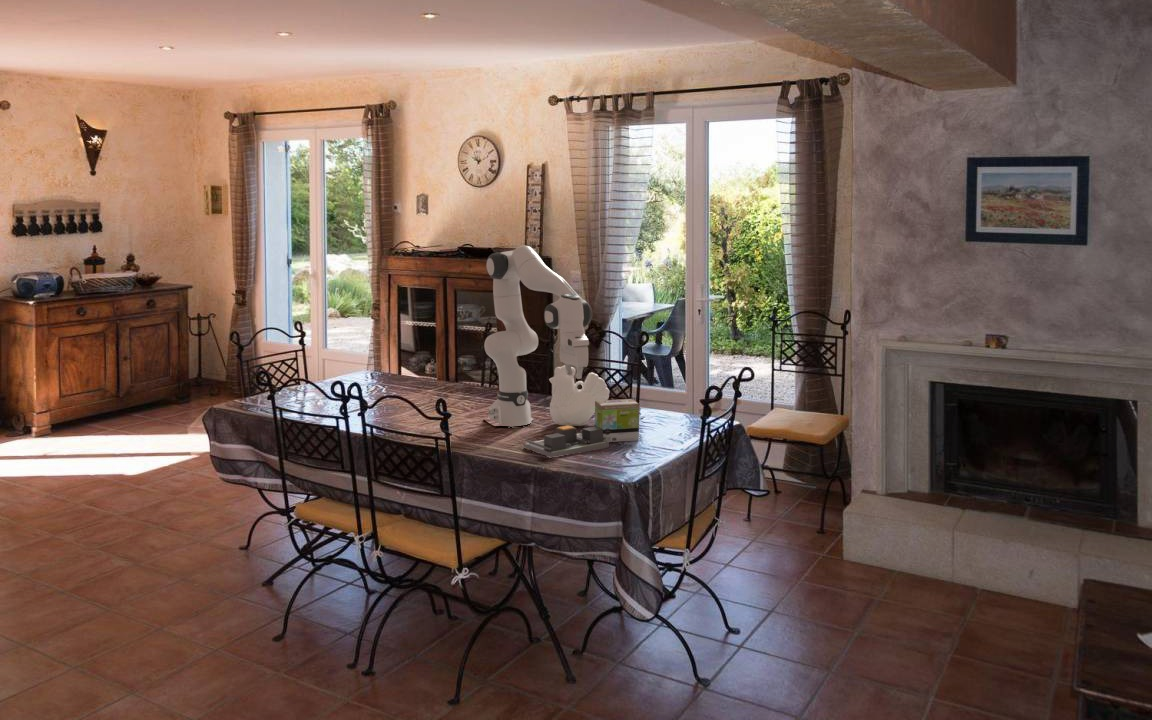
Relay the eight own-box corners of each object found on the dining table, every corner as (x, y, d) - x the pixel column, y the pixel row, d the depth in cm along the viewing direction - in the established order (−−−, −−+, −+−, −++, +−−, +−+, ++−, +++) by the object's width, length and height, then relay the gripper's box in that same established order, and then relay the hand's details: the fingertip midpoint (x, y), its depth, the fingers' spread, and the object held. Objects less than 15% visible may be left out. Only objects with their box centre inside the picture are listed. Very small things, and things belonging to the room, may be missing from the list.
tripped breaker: (549, 441, 371) (549, 426, 370) (568, 438, 376) (568, 423, 375) (563, 446, 364) (563, 431, 363) (582, 442, 369) (582, 427, 368)
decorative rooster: (550, 430, 398) (549, 369, 394) (548, 422, 414) (547, 362, 410) (613, 428, 400) (612, 367, 396) (608, 420, 416) (608, 361, 412)
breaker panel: (523, 448, 370) (523, 430, 369) (580, 438, 385) (580, 420, 384) (551, 458, 356) (550, 439, 354) (608, 447, 370) (608, 428, 369)
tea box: (601, 444, 376) (601, 405, 373) (594, 438, 385) (593, 400, 383) (639, 440, 380) (639, 402, 377) (631, 435, 389) (631, 397, 387)
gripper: (554, 337, 370) (556, 374, 372) (574, 342, 351) (576, 381, 353) (570, 335, 372) (572, 372, 374) (590, 341, 353) (592, 379, 355)
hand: (574, 376), depth 363 cm, fingers open, 8 cm apart
